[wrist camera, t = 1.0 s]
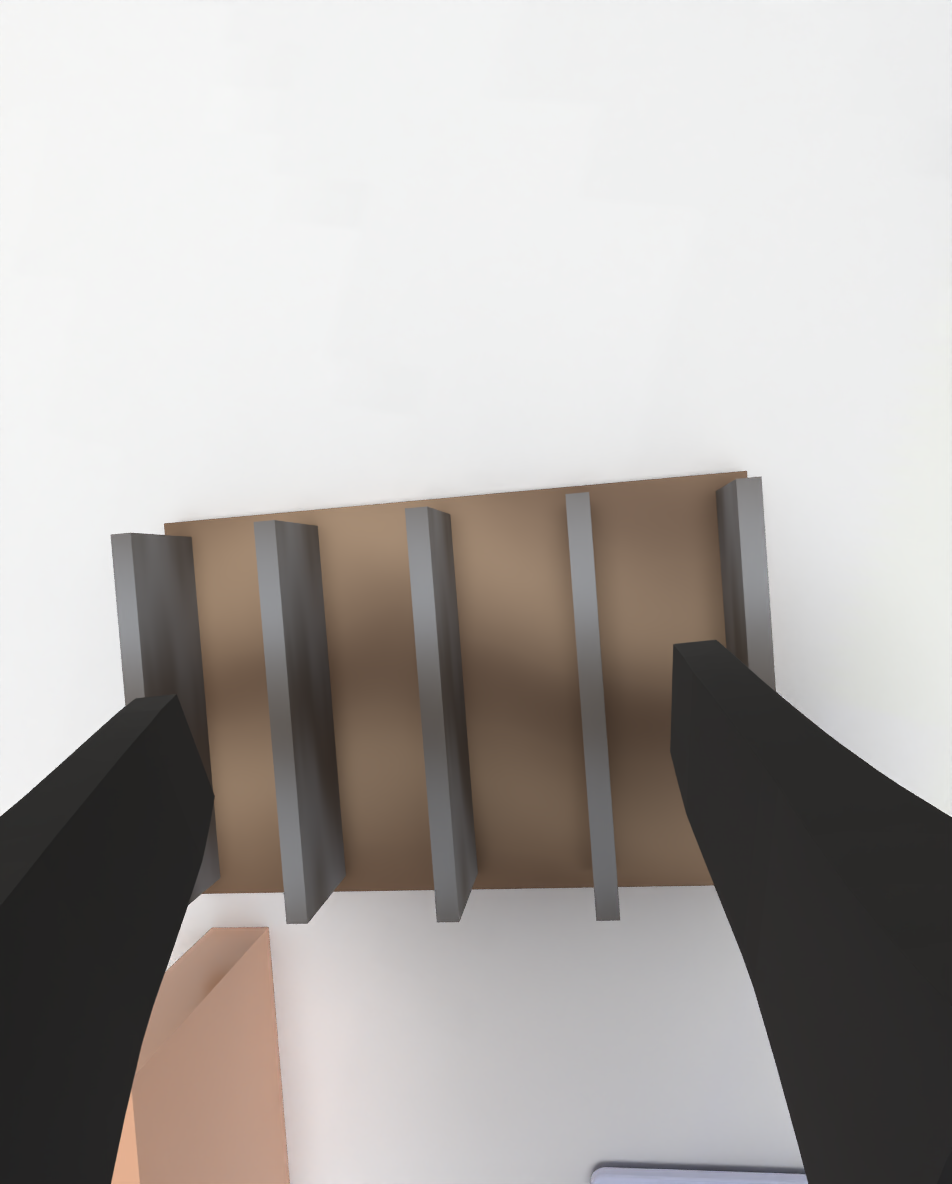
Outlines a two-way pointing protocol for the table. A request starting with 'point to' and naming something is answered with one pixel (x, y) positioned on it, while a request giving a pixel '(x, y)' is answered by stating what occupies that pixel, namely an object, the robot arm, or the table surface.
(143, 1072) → the peach rectangular slab
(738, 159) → the table surface
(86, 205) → the table surface
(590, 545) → the dish rack
